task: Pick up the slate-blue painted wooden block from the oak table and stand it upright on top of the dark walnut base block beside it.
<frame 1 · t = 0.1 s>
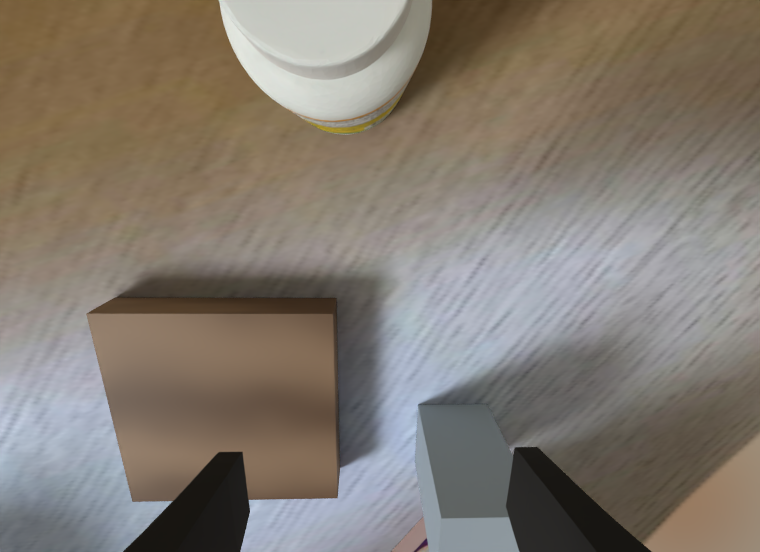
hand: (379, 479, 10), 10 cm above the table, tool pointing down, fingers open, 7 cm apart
slate block: (450, 433, 22), on the table
walnut base: (237, 391, 20), on the table
greeting card: (441, 547, 25), on the table
supplement bottle: (343, 68, 16), on the table
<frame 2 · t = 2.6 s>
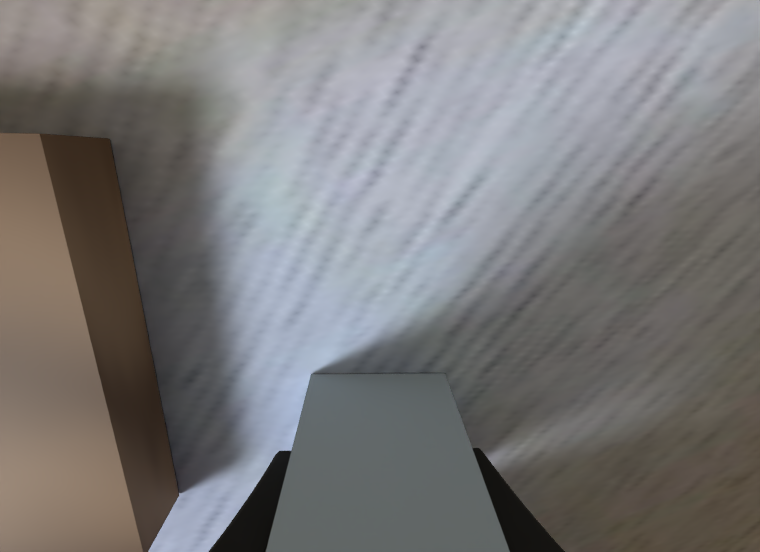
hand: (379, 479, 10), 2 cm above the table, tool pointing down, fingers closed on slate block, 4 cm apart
slate block: (377, 429, 12), on the table, touching gripper
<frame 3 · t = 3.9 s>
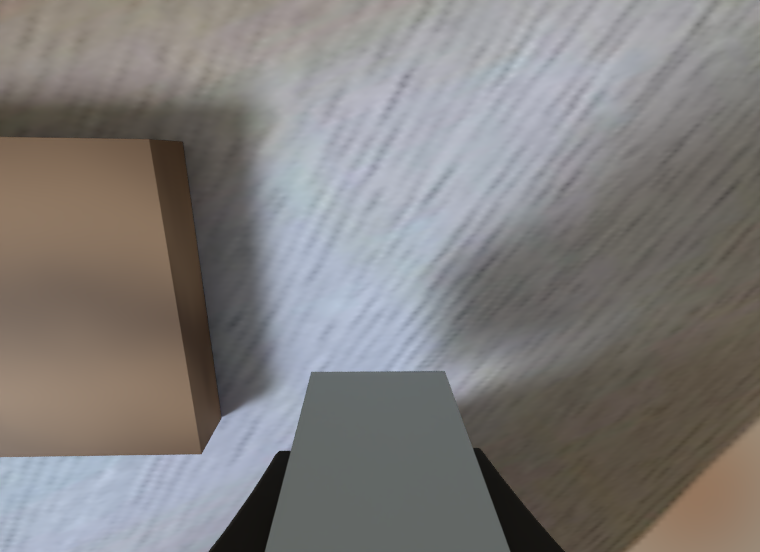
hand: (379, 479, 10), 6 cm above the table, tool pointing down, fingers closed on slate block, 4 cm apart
slate block: (377, 426, 12), point 4 cm above the table, touching gripper
walnut base: (54, 296, 14), on the table
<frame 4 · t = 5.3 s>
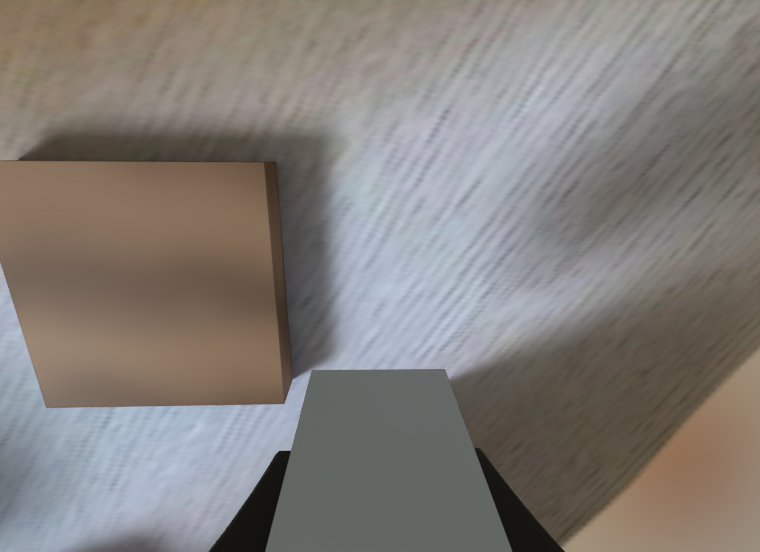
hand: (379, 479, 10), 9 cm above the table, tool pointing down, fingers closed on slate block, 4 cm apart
slate block: (378, 425, 12), point 7 cm above the table, touching gripper
walnut base: (168, 281, 18), on the table
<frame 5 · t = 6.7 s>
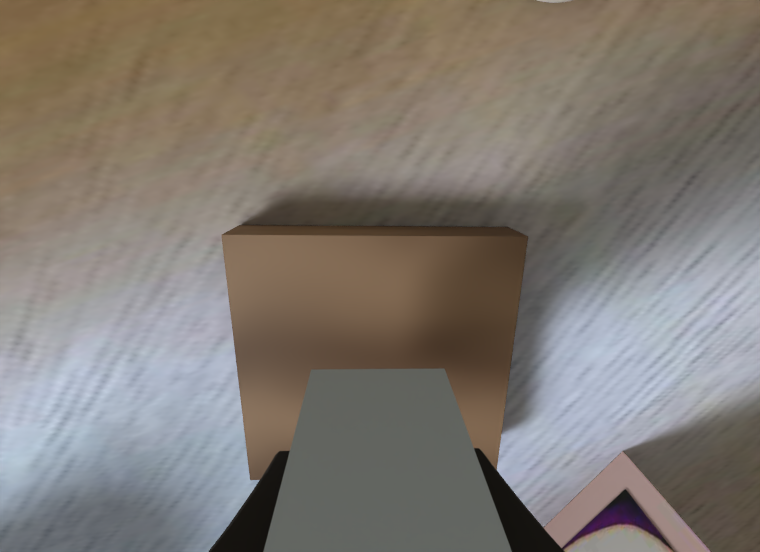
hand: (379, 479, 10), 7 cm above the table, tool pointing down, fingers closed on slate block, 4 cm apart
slate block: (377, 424, 12), point 5 cm above the table, touching gripper
walnut base: (374, 346, 17), on the table
greeting card: (584, 538, 21), on the table
when the fingers open (5 cm above the table, at t = 7.9 s): slate block drops 1 cm, resting on walnut base.
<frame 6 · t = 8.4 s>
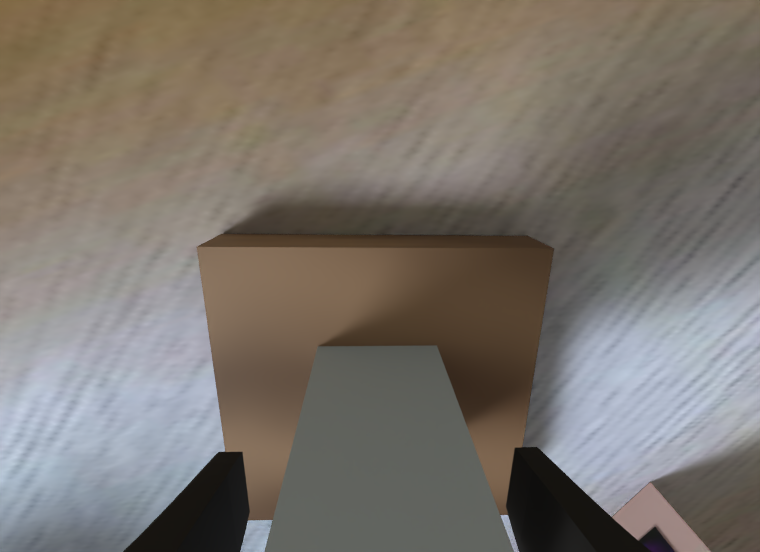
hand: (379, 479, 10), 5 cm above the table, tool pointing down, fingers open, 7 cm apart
slate block: (377, 396, 13), point 2 cm above the table, touching walnut base
walnut base: (375, 369, 15), on the table
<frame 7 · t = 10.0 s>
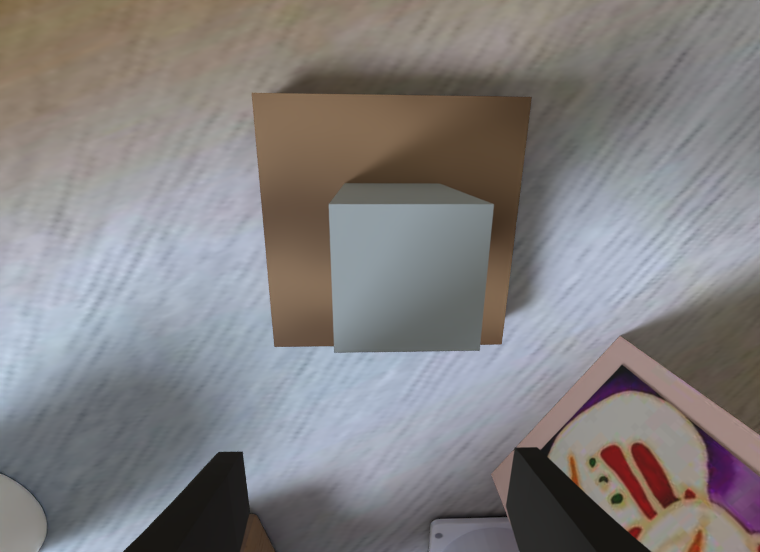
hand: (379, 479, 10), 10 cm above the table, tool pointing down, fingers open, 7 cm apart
slate block: (391, 230, 16), point 2 cm above the table, touching walnut base
walnut base: (388, 225, 18), on the table
greeting card: (584, 427, 23), on the table
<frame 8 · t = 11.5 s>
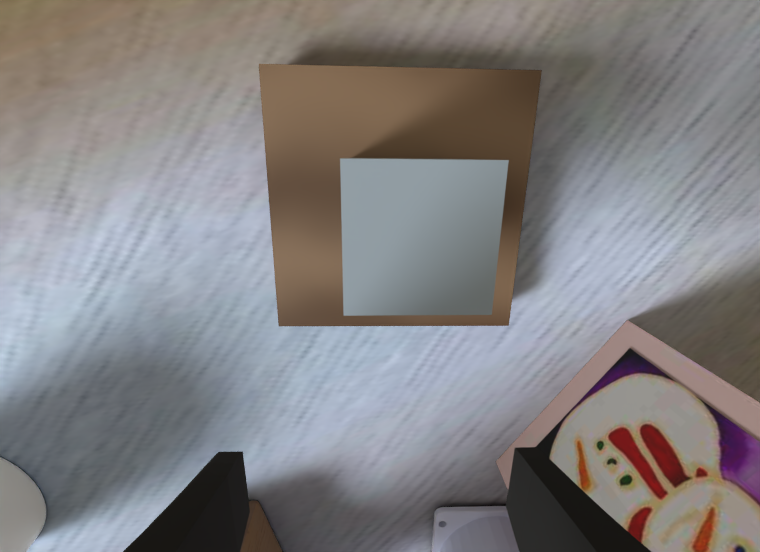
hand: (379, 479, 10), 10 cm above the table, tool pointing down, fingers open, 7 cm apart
slate block: (398, 207, 16), point 2 cm above the table, touching walnut base
wooden block: (251, 550, 25), on the table
walnut base: (394, 204, 18), on the table
greeting card: (590, 414, 22), on the table
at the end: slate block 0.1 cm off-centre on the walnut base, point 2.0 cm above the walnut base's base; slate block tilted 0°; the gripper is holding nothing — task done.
